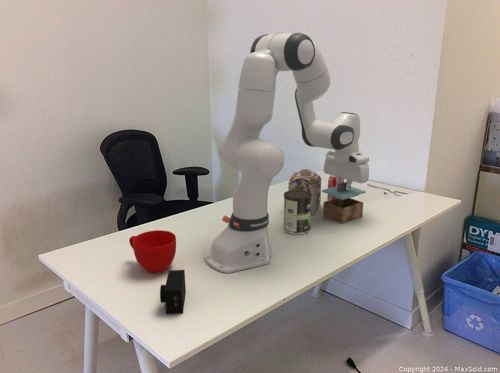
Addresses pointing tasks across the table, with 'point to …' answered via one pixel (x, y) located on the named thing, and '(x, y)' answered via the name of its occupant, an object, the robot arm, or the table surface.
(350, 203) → the walnut box
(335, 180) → the soda can
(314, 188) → the decorative jar
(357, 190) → the lid
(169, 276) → the digital camera
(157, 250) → the ceramic cup
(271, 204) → the table surface
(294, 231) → the coffee can
